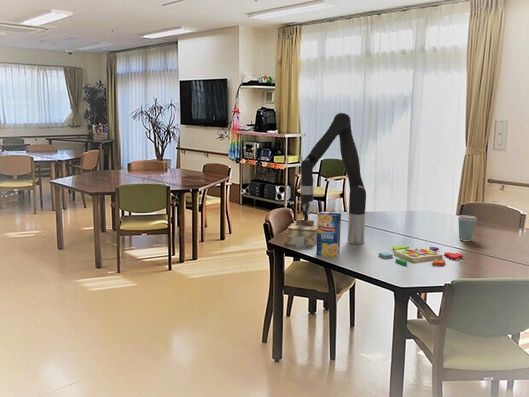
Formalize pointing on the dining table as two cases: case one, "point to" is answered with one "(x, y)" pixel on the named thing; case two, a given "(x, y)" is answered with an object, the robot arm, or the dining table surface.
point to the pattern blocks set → (419, 255)
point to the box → (309, 235)
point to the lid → (303, 225)
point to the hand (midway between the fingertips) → (306, 222)
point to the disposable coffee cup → (466, 226)
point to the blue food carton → (328, 234)
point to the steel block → (300, 242)
